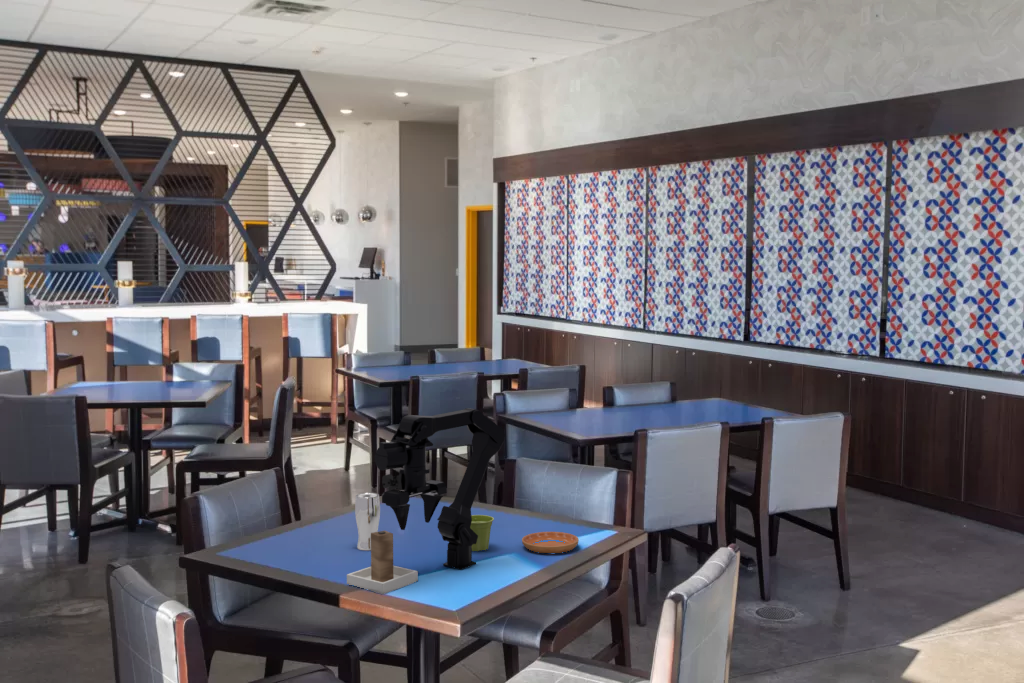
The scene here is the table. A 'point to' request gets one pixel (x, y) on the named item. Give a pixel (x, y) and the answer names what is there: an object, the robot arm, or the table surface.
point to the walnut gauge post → (382, 556)
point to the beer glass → (367, 518)
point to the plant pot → (481, 531)
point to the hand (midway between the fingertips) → (415, 526)
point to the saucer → (550, 542)
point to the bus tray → (364, 581)
